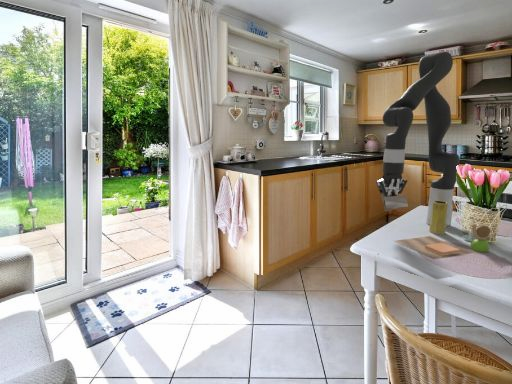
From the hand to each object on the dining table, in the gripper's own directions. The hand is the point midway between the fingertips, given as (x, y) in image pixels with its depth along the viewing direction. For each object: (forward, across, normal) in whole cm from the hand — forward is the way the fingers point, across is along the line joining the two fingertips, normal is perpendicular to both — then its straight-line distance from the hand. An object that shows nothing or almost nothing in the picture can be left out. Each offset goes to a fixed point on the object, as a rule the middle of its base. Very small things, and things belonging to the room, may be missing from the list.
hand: (389, 204), depth 126 cm
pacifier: (+14, -26, +14) cm, 33 cm away
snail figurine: (+14, -19, +24) cm, 34 cm away
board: (+14, -6, +16) cm, 22 cm away
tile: (+12, -6, +17) cm, 21 cm away
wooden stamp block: (+2, 0, +2) cm, 2 cm away
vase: (+14, -22, +4) cm, 26 cm away
